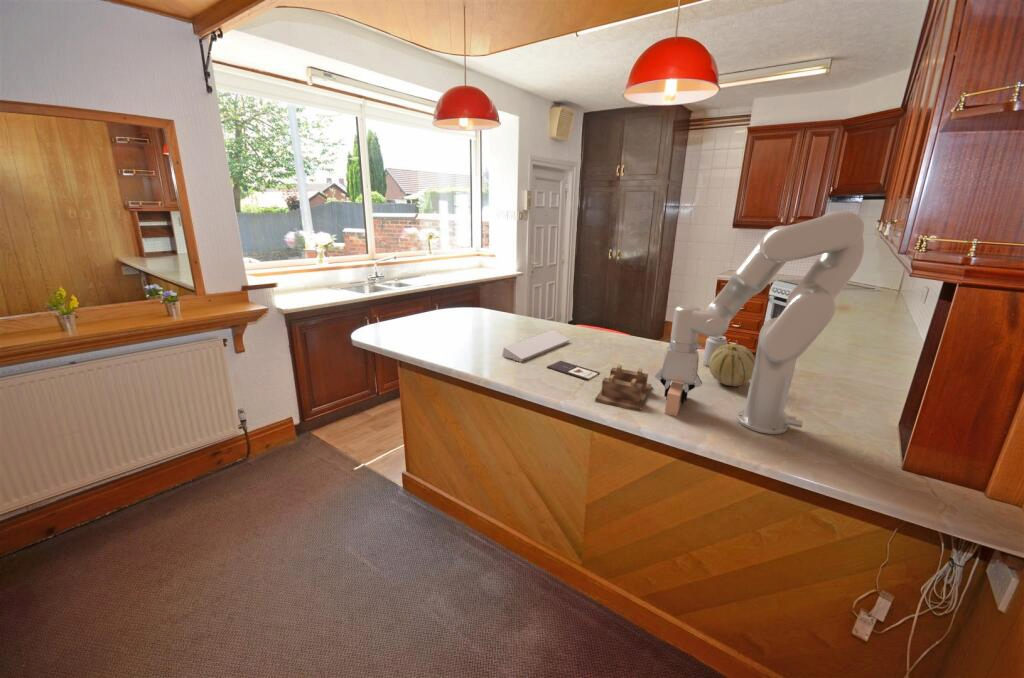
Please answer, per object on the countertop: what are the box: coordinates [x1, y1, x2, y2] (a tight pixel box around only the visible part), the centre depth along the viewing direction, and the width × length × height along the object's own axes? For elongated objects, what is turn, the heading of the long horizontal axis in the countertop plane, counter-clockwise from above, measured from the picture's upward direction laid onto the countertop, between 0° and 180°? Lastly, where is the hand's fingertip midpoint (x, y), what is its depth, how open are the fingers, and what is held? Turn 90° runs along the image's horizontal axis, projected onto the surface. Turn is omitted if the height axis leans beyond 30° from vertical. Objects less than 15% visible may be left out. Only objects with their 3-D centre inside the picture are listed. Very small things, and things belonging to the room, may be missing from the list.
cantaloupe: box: [708, 343, 756, 387], centre depth 145 cm, size 15×15×15 cm
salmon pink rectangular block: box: [664, 381, 684, 417], centre depth 131 cm, size 4×16×7 cm, turn 152°
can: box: [702, 335, 728, 368], centre depth 162 cm, size 8×8×12 cm
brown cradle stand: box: [594, 364, 652, 412], centre depth 138 cm, size 14×20×8 cm
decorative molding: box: [501, 329, 571, 363], centre depth 181 cm, size 34×5×10 cm
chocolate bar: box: [546, 360, 600, 381], centre depth 158 cm, size 9×1×18 cm
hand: (675, 399), depth 132 cm, fingers open, 3 cm apart
